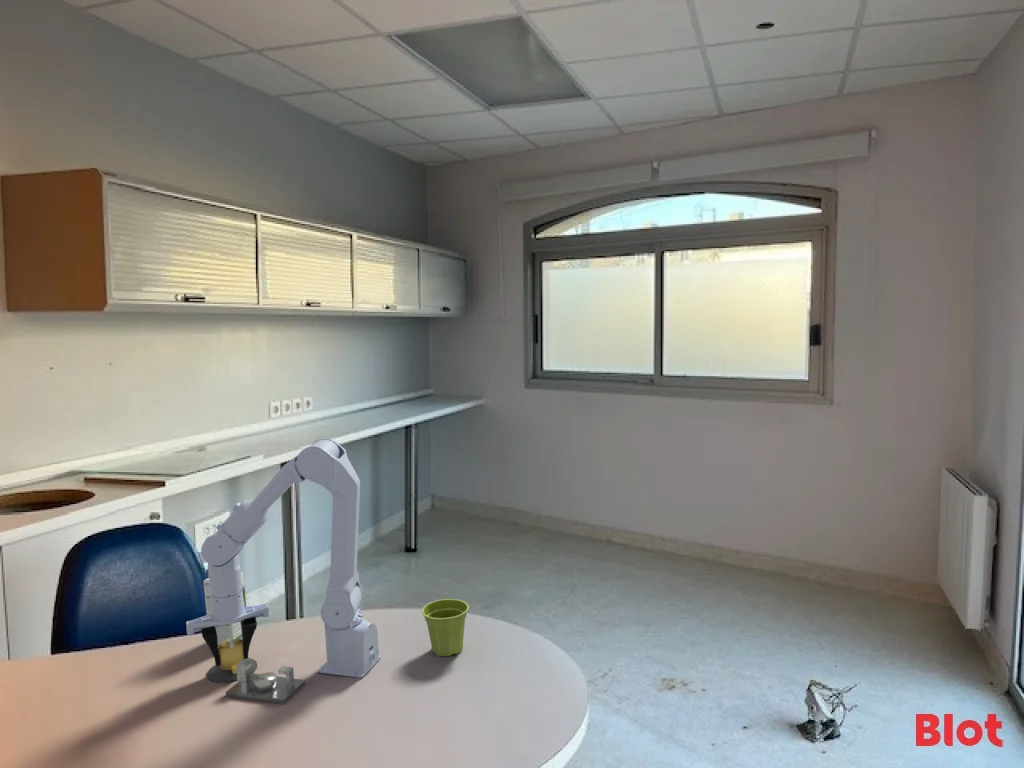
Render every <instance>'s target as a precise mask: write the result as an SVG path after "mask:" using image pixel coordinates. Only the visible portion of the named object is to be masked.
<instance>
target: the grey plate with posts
mask: <svg viewBox="0 0 1024 768" xmlns="http://www.w3.org/2000/svg"><path fill="white" fill-rule="evenodd" d="M251 666H252V664H251V662H245V661H241V662H239V663H238V664H237V665H236V668H237V681H236V682H237V683H235V684H234V685H233V686H231V687H230V688H228V690H226V691H225V697H228V698H235V699H242V700H248V701H249V700H250V701H254V702H255V701H256V702H257V701H258V702H263V703H264V702H265V703H270V704H276V705H277V704H279V705H285V704H286V703H287V702H288V701H290V699H291V698H293V696H294V695H296V693H298V692H299V691H300V690H301V689H302V688H303V687H304V686H305V685H306V684H307V683H306V679H301V678H300V679H299V678H295V676H294V673H295V672H294V667H293V666H292V667H291V666H284V665H281V667H280V668H278V669H277V674H278V675H285V677H283V676H277V674H276V673H275V672H268V671H267V672H263V673H254V672H253V673H249V674H248V675H247V676H246V675H245V670H247V669H248V668H250V667H251Z"/></svg>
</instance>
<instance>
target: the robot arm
mask: <svg viewBox="0 0 1024 768" xmlns="http://www.w3.org/2000/svg"><path fill="white" fill-rule="evenodd" d="M305 480H309V481H310V482H312V483H313V482H314V483H315V484H318V485H320V486H322V487H323V488H325V489H326V490H327V491H328V492H329V493H331V494H332V510H331V511H332V512H331V513H332V516H331V518H332V519H331V541H330V543H331V545H330V547H331V548H330V567H329V569H330V570H329V571H330V572H329V574H330V575H329V579H328V584H327V588H326V596H325V600H324V602H323V603H322V605H321V608H320V617H321V621H322V622H323V623H324V634H325V636H324V637H325V651H326V662H324V664H322V666H320V667H319V668H318V670H317V672H318V673H320V674H327V675H336V676H343V677H344V676H345V677H351V678H352V677H353V678H354V677H355V678H360V679H361V678H364V676H366V674H367V673H368V672H369V671H370V670H371V669H372V668H373V667H374V666H375V665H376V664H377V663H378V661H379V660H380V659H381V656H382V655H380V654H379V653H380V652H379V638H378V637H379V636H378V634H379V633H378V627H377V625H376V624H375V623H374V622H370V621H368V620H367V619H365V618H364V617H363V616H364V614H363V613H362V611H361V608H360V607H359V606H360V605H361V603H362V602H363V599H364V589H363V588H362V586H361V583H360V573H359V572H358V569H357V568H358V549H359V521H360V498H361V496H360V495H361V481H360V478H359V475H358V474H357V472H356V471H355V469H354V466H353V465H352V463H351V461H350V460H349V458H348V454H347V451H346V449H345V448H344V447H343V446H341V445H340V444H339V443H338V442H336V441H335V440H333V439H331V438H328V437H325V438H324V437H322V438H319V439H316V440H315V441H314V442H313V443H312V444H311V445H309V446H307V447H305V448H303V449H302V450H301V451H299V453H298V454H297V455H295V456H294V457H293V458H292V459H290V460H289V461H288V462H287V463H285V464H284V465H283V466H282V467H281V468H280V470H278V472H277V473H276V474H275V475H274V476H273V477H272V478H271V479H270V481H269V482H268V483H267V484H266V485H265V487H264V488H262V490H261V491H260V492H259V493H258V495H257V496H256V497H255V498H254V499H245V500H243V501H242V502H237V503H236V504H235V505H234V506H233V507H232V508H231V509H232V510H233V511H232V512H231V514H230V515H229V516H228V517H227V518H226V519H225V520H224V521H223V522H219V523H218V524H217V526H215V528H216V529H217V531H216V532H214V533H212V534H210V535H209V536H207V537H206V538H205V540H204V542H203V543H202V546H201V550H200V552H201V553H200V554H201V556H202V559H203V560H204V561H205V562H206V563H207V573H208V574H207V575H208V578H209V588H210V600H211V612H212V614H209V615H207V614H206V615H204V616H200V617H198V618H195V619H192V620H187V621H186V622H185V624H186V634H187V636H190V635H194V634H195V633H198V632H201V636H202V638H203V641H204V642H205V643H206V644H207V646H208V648H209V649H210V651H211V654H212V655H213V658H214V665H216V666H219V665H220V659H219V651H218V640H217V633H216V628H215V627H220V626H224V625H228V624H233V623H237V622H241V630H242V641H243V650H244V659H247V658H249V651H250V646H251V642H252V639H253V637H254V634H255V631H256V630H257V628H258V627H257V626H258V622H257V619H258V618H268V617H270V611H269V609H270V608H269V606H268V604H267V603H264V604H257V605H246V607H244V605H243V592H242V579H241V571H242V569H241V558H240V557H241V556H240V552H241V551H242V550H243V548H244V545H245V544H247V542H248V541H249V540H251V538H252V537H253V536H254V535H255V534H256V533H257V532H258V531H259V530H260V529H261V528H262V527H263V526H264V524H266V523H267V521H268V518H269V517H268V516H269V515H268V514H269V513H268V510H269V509H270V508H271V507H272V506H273V504H274V503H275V502H276V501H277V500H279V498H280V497H281V496H283V494H284V493H286V492H287V490H288V489H289V488H290V487H291V486H292V485H293V484H298V483H303V482H304V481H305Z"/></svg>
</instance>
